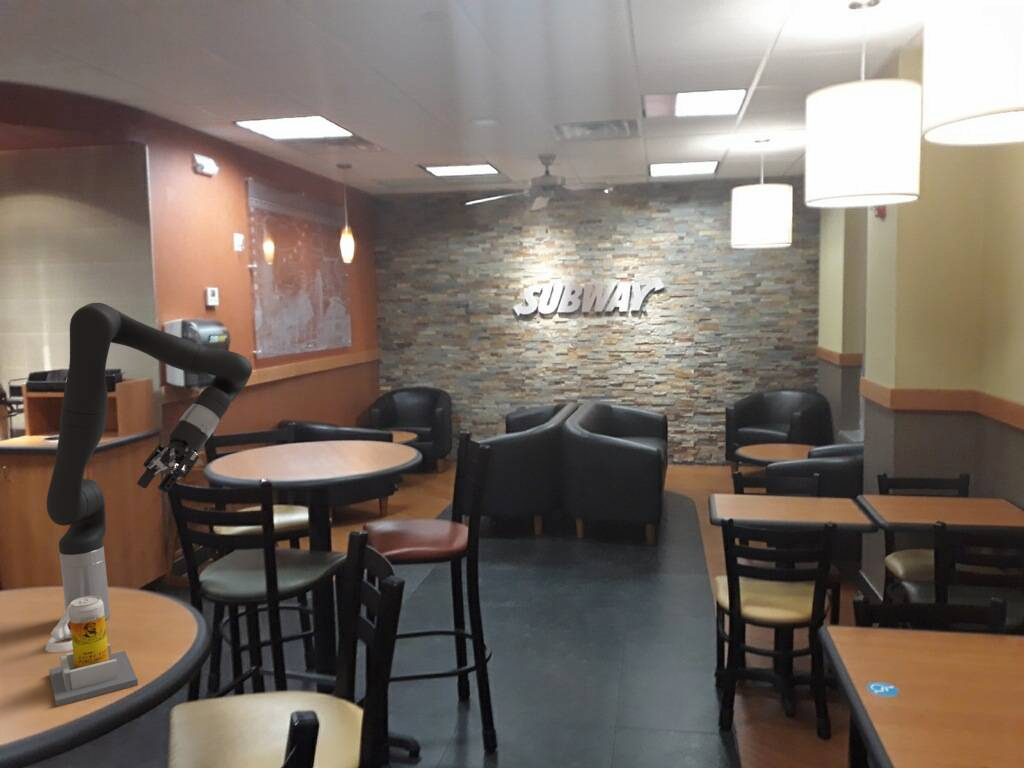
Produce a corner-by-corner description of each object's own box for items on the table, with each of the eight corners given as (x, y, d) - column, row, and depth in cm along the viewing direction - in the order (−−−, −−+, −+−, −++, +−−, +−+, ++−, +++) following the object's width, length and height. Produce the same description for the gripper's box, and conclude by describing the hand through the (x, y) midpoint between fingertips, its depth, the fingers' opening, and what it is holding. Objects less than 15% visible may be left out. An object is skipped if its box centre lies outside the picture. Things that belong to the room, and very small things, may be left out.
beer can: (80, 683, 159) (72, 609, 157) (72, 673, 164) (64, 601, 162) (113, 673, 163) (106, 600, 161) (104, 663, 168) (97, 592, 166)
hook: (92, 628, 176) (60, 614, 174) (67, 669, 179) (36, 656, 177) (105, 608, 183) (74, 594, 181) (81, 648, 186) (50, 635, 184)
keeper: (49, 675, 166) (47, 652, 166) (125, 656, 174) (123, 634, 173) (56, 706, 153) (53, 682, 152) (137, 684, 160) (135, 661, 160)
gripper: (165, 416, 189) (121, 475, 181) (200, 420, 180) (156, 483, 172) (188, 435, 194) (146, 494, 186) (224, 440, 185) (181, 501, 177)
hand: (151, 488), depth 179 cm, fingers open, 8 cm apart
